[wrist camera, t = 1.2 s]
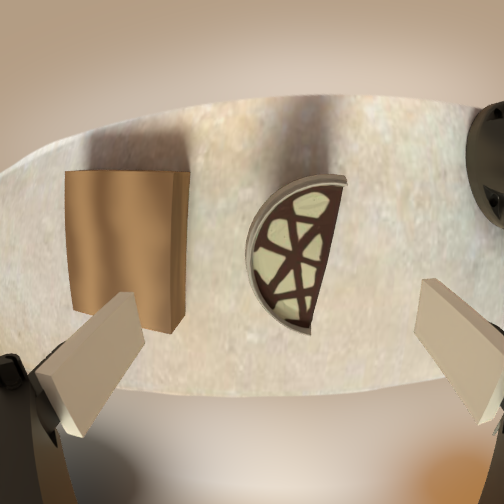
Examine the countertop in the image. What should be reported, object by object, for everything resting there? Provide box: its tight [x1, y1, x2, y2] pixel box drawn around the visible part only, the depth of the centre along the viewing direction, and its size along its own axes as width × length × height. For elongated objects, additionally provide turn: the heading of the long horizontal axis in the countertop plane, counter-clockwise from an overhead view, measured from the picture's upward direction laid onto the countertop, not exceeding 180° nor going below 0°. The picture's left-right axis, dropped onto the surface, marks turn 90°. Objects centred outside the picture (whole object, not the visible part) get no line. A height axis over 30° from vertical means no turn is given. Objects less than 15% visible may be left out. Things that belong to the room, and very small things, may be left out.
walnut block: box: [65, 170, 190, 334], centre depth 31 cm, size 13×16×5 cm
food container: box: [245, 174, 348, 336], centre depth 26 cm, size 12×6×10 cm, turn 170°
